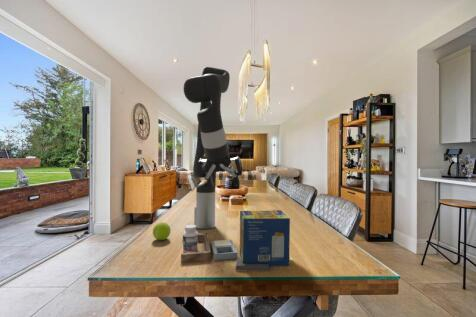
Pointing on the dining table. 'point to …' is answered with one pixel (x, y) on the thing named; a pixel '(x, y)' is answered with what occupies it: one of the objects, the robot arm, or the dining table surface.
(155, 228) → the tennis ball
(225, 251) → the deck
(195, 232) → the pill bottle
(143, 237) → the dining table surface
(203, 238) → the frame
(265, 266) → the grey flat block
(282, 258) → the protein box
